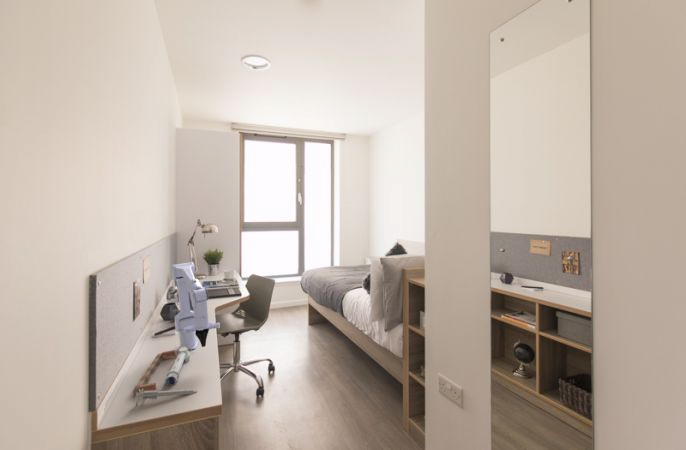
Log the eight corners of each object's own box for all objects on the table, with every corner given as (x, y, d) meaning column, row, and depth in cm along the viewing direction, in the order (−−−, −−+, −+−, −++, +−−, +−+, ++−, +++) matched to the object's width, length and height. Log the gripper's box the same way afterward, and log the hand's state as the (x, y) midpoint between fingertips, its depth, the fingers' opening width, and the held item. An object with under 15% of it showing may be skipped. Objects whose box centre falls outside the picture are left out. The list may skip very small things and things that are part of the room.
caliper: (135, 407, 121) (134, 391, 121) (136, 406, 122) (134, 389, 122) (197, 392, 129) (195, 377, 128) (197, 391, 130) (195, 375, 129)
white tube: (162, 377, 134) (178, 344, 158) (165, 392, 135) (179, 357, 159) (176, 375, 135) (190, 342, 159) (179, 390, 136) (191, 355, 160)
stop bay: (158, 358, 160) (157, 352, 160) (175, 356, 162) (175, 350, 161) (134, 395, 129) (133, 388, 129) (155, 391, 131) (154, 384, 130)
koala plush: (200, 312, 227) (197, 284, 226) (208, 319, 213) (205, 288, 212) (172, 319, 217) (169, 289, 215) (179, 326, 202) (175, 294, 201)
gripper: (181, 321, 143) (184, 352, 143) (217, 316, 146) (220, 346, 147) (184, 316, 149) (187, 345, 150) (219, 311, 153) (221, 340, 154)
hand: (203, 345), depth 149 cm, fingers closed
